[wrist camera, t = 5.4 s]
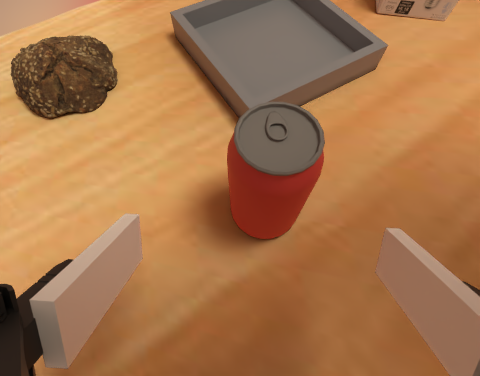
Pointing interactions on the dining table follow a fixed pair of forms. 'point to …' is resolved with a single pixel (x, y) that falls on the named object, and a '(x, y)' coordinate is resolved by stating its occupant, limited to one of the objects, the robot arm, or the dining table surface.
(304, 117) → the beer can
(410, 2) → the light bulb box
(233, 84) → the tray
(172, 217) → the dining table surface
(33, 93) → the bread roll
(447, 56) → the dining table surface
